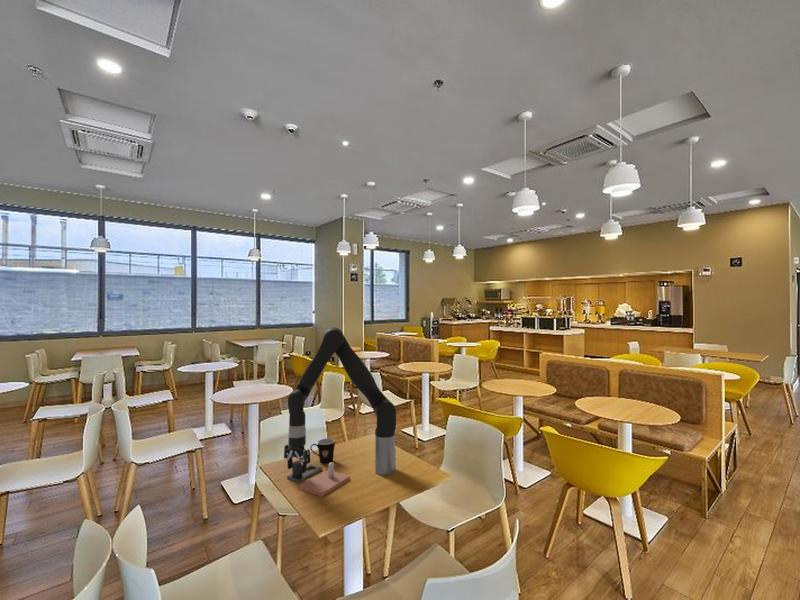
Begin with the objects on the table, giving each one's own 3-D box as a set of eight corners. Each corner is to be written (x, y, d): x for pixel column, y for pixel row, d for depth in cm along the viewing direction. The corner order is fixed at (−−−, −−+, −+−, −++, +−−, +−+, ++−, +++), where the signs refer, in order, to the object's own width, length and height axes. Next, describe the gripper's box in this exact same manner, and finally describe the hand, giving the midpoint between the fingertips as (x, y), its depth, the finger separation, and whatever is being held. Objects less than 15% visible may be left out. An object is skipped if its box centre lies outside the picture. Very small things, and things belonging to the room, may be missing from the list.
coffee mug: (338, 459, 187) (338, 439, 188) (328, 466, 180) (328, 445, 180) (319, 455, 192) (319, 436, 193) (309, 462, 185) (309, 442, 185)
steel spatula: (310, 466, 179) (310, 451, 179) (322, 470, 175) (322, 454, 176) (287, 478, 167) (287, 462, 167) (298, 482, 163) (298, 466, 163)
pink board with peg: (328, 472, 173) (328, 455, 173) (349, 479, 166) (349, 461, 166) (299, 489, 157) (299, 470, 157) (321, 497, 150) (321, 477, 151)
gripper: (314, 434, 167) (314, 471, 166) (292, 429, 174) (292, 464, 174) (302, 439, 160) (301, 477, 160) (279, 433, 168) (279, 469, 167)
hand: (296, 470), depth 167 cm, fingers open, 8 cm apart
